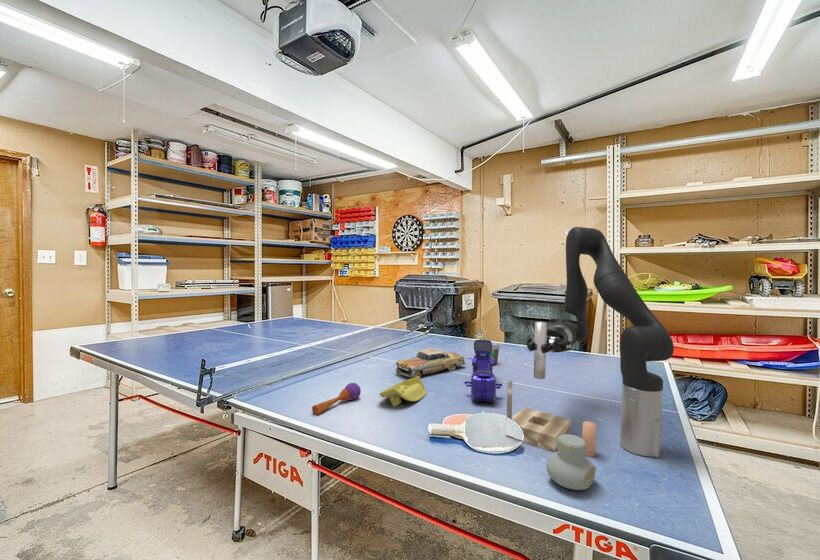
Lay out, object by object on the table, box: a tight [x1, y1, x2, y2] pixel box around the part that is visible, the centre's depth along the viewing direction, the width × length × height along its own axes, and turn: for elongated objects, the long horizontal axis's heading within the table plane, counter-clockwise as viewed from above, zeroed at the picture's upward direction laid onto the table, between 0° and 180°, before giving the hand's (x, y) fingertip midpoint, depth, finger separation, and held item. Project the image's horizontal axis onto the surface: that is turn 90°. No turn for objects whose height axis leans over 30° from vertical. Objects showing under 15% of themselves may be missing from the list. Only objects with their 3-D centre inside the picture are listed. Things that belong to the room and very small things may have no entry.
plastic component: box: [378, 377, 427, 406], centre depth 133 cm, size 20×7×10 cm
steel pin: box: [533, 321, 548, 380], centre depth 105 cm, size 3×3×16 cm
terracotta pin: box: [581, 420, 597, 458], centre depth 96 cm, size 3×3×8 cm
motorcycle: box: [463, 339, 503, 404], centre depth 143 cm, size 35×14×18 cm, turn 169°
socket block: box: [506, 380, 572, 453], centre depth 106 cm, size 14×14×16 cm
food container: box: [481, 344, 501, 366], centre depth 178 cm, size 12×6×10 cm, turn 47°
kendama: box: [311, 382, 362, 416], centre depth 127 cm, size 6×6×20 cm
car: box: [395, 347, 466, 379], centre depth 166 cm, size 12×34×10 cm, turn 125°
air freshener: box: [545, 433, 597, 491], centre depth 84 cm, size 11×8×10 cm
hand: (536, 348), depth 103 cm, fingers closed on steel pin, 3 cm apart
